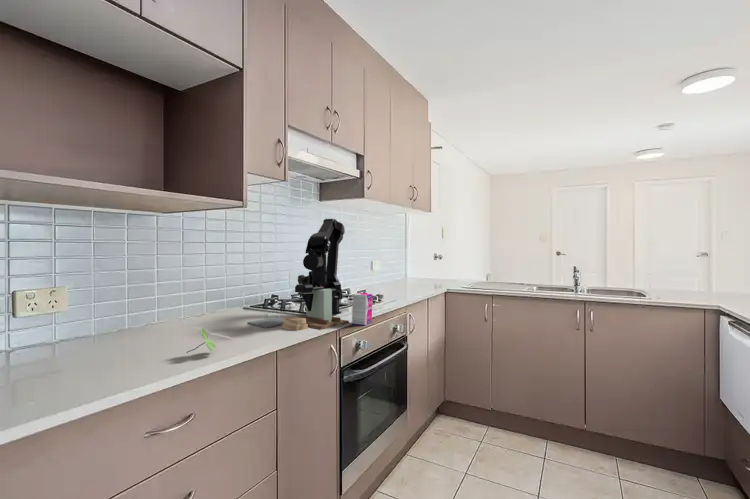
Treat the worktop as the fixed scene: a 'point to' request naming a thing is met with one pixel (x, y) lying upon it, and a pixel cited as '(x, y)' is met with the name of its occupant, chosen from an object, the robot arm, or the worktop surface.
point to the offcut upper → (295, 321)
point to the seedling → (206, 341)
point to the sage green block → (321, 304)
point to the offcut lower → (295, 327)
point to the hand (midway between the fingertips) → (318, 309)
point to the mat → (268, 322)
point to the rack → (323, 322)
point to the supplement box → (362, 309)
